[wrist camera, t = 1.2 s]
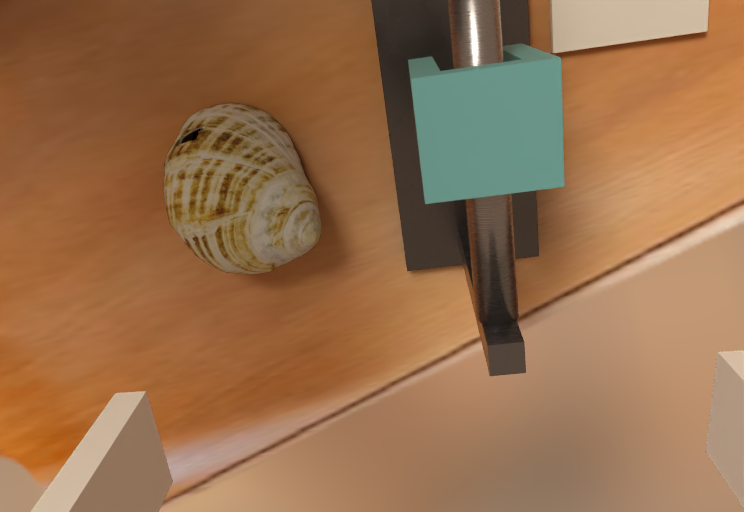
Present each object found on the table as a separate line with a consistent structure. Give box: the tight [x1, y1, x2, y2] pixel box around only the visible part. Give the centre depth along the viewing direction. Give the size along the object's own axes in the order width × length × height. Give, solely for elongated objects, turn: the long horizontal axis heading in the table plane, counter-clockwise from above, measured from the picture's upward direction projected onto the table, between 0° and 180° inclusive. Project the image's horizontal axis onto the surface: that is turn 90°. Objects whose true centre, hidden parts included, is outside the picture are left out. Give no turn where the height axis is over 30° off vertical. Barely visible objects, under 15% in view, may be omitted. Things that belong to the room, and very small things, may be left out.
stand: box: [371, 0, 539, 376], centre depth 31 cm, size 24×9×17 cm, turn 8°
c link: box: [408, 43, 564, 204], centre depth 28 cm, size 5×6×8 cm
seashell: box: [164, 103, 321, 274], centre depth 39 cm, size 10×10×10 cm
